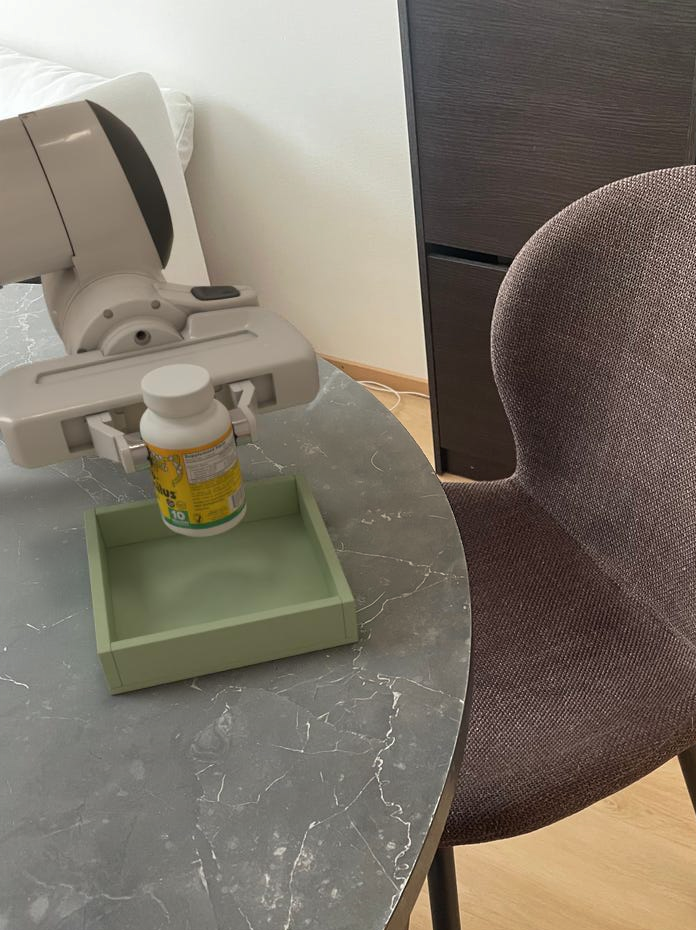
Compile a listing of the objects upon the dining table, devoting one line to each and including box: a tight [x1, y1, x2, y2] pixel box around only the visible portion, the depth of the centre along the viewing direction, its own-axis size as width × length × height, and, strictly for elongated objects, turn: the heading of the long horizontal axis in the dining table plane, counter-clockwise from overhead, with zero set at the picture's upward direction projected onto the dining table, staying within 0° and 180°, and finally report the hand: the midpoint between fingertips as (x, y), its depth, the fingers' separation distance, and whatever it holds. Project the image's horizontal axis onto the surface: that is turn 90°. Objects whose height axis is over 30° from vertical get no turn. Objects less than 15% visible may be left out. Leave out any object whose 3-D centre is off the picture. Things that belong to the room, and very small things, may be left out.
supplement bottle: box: [140, 364, 246, 537], centre depth 64 cm, size 5×5×10 cm
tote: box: [82, 471, 359, 696], centre depth 70 cm, size 16×16×4 cm
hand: (194, 447), depth 63 cm, fingers closed on supplement bottle, 5 cm apart
